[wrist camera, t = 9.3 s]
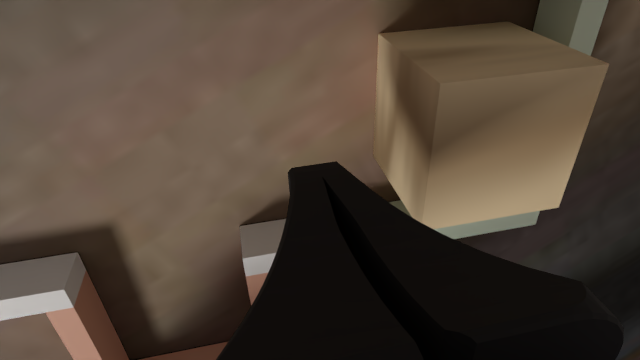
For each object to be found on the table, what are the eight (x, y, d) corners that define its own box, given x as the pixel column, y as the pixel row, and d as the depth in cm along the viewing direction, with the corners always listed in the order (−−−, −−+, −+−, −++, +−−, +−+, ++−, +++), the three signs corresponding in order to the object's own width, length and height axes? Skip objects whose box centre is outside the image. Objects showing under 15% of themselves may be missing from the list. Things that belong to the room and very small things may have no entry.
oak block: (482, 139, 19) (558, 207, 15) (372, 155, 18) (420, 231, 14) (506, 20, 16) (609, 63, 12) (377, 32, 15) (440, 83, 11)
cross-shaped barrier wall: (482, 301, 25) (501, 329, 23) (19, 396, 21) (4, 438, 20) (703, -513, 10) (803, -595, 8) (-856, -713, 6) (-1279, -953, 4)
